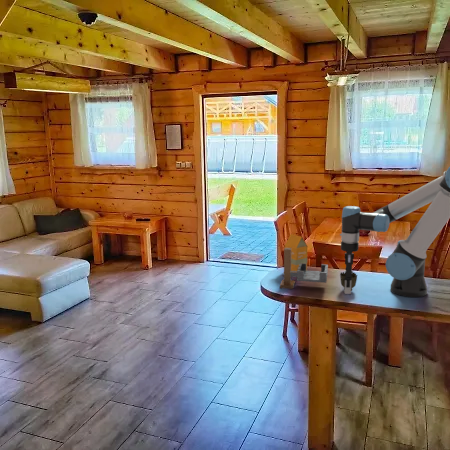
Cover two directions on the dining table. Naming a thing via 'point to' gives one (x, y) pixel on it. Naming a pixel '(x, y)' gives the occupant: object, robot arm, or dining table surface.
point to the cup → (353, 282)
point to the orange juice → (297, 251)
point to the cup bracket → (301, 272)
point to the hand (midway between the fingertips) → (347, 290)
